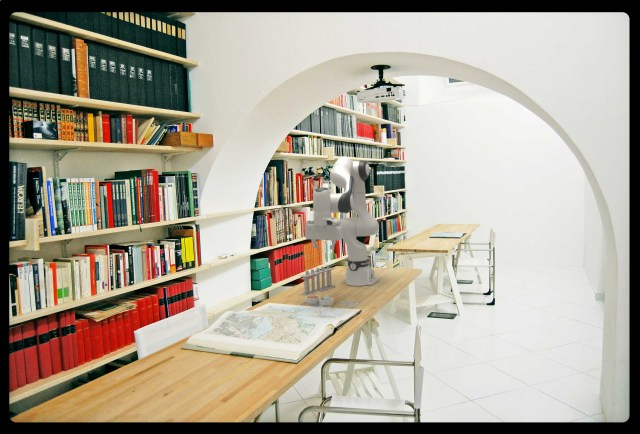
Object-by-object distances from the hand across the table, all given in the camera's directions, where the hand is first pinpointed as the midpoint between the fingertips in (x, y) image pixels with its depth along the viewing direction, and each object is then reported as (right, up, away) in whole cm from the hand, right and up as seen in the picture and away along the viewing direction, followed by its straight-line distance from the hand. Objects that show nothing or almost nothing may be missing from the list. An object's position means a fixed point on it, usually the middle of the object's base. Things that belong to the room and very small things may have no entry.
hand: (323, 248), depth 237 cm
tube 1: (-6, -28, +7) cm, 29 cm away
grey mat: (+12, -28, +1) cm, 30 cm away
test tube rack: (-3, -26, +31) cm, 41 cm away
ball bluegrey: (+1, -28, +2) cm, 28 cm away
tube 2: (+1, -28, +2) cm, 28 cm away
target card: (-3, -28, +3) cm, 29 cm away
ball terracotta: (-6, -28, +7) cm, 29 cm away
